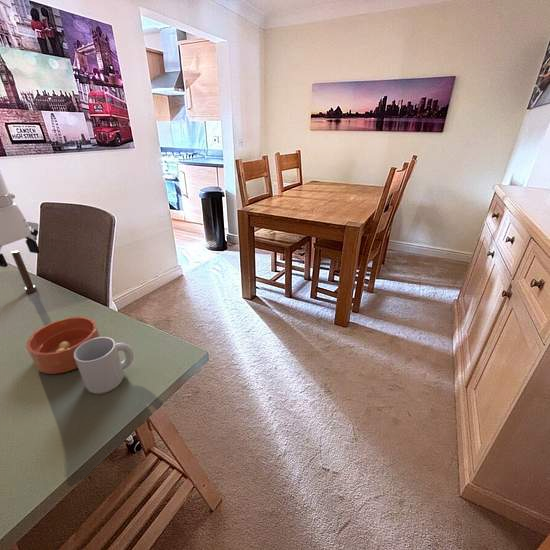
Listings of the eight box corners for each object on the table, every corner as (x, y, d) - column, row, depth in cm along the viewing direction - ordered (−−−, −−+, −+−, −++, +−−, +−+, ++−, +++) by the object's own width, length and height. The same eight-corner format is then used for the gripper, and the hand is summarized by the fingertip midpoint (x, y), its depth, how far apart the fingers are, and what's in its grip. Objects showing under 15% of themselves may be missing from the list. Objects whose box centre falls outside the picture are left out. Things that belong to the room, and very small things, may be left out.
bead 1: (59, 353, 70) (55, 346, 69) (62, 347, 72) (59, 340, 71) (69, 352, 70) (66, 344, 69) (72, 345, 72) (69, 338, 71)
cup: (82, 379, 64) (70, 346, 60) (131, 358, 70) (123, 327, 66) (90, 401, 59) (77, 367, 55) (142, 376, 65) (134, 344, 61)
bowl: (25, 380, 63) (14, 359, 61) (49, 340, 75) (41, 320, 72) (94, 369, 66) (87, 349, 64) (107, 332, 78) (102, 313, 75)
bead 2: (55, 360, 68) (51, 353, 67) (58, 354, 70) (55, 346, 69) (66, 359, 68) (63, 351, 67) (69, 352, 70) (66, 345, 69)
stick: (24, 293, 93) (7, 254, 87) (28, 289, 96) (11, 250, 89) (34, 292, 94) (18, 253, 87) (38, 288, 96) (22, 249, 90)
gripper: (15, 193, 90) (37, 246, 98) (-54, 209, 75) (-22, 270, 83) (35, 195, 88) (55, 249, 96) (-32, 212, 73) (-2, 274, 82)
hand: (19, 259), depth 90 cm, fingers open, 9 cm apart
